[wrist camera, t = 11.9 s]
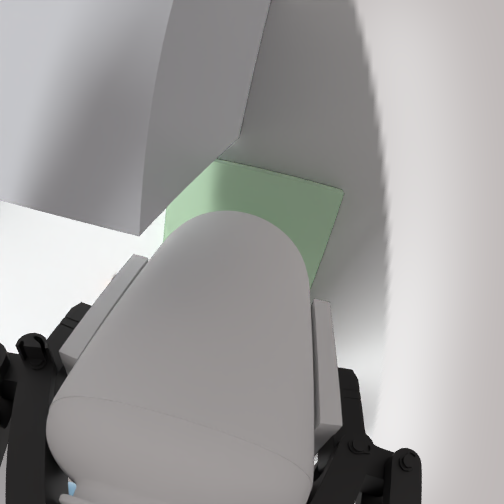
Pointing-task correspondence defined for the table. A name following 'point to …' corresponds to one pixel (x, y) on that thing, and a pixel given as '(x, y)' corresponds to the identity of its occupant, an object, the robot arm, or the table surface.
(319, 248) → the green pad
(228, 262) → the pill bottle
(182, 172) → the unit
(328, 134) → the table surface
